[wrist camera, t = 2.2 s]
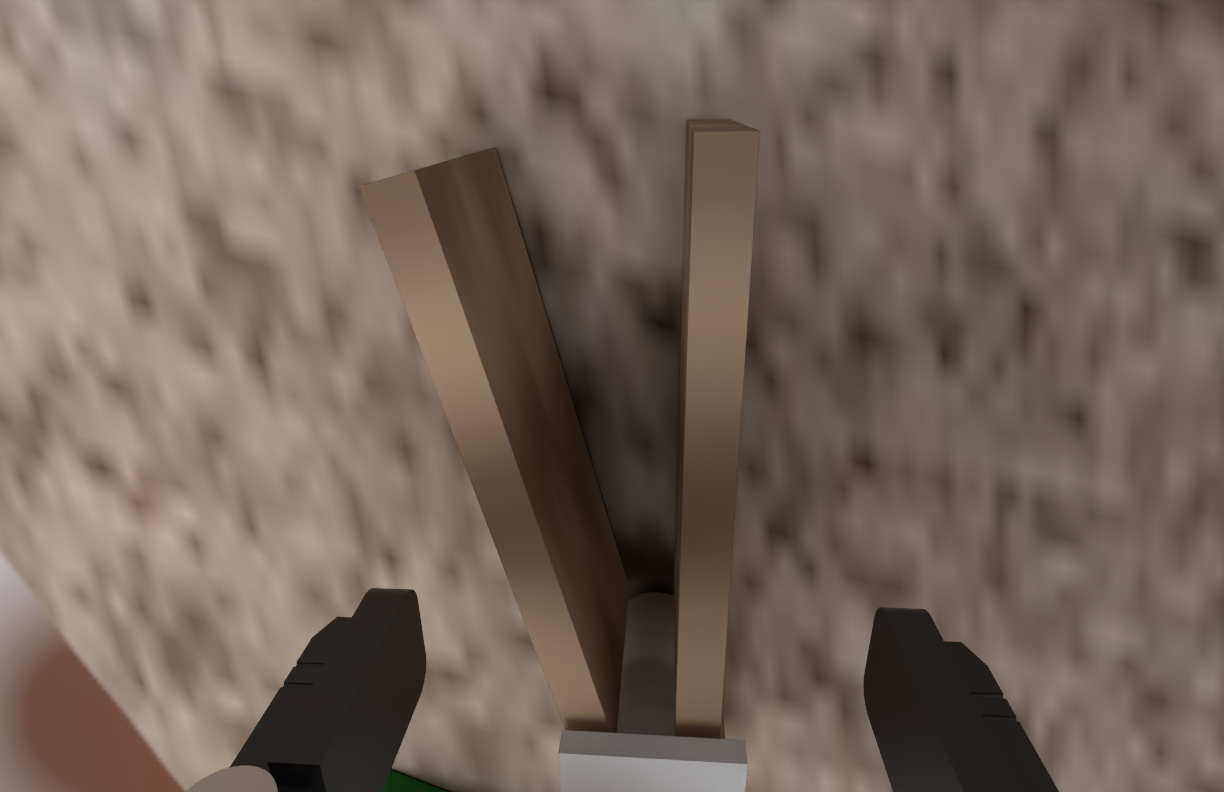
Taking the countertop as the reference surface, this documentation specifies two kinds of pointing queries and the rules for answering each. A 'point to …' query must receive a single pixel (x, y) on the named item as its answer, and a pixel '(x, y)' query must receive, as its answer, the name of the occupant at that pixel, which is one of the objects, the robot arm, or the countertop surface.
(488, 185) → the tong arm
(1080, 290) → the countertop surface
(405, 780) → the milk carton
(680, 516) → the tong frame
